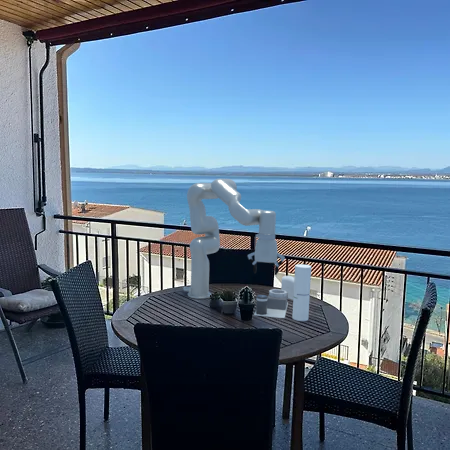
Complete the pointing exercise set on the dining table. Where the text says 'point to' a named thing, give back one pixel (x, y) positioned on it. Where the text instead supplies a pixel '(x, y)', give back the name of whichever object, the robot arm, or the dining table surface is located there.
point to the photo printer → (288, 286)
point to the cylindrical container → (301, 292)
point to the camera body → (277, 299)
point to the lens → (261, 304)
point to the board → (274, 313)
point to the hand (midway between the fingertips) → (265, 273)
